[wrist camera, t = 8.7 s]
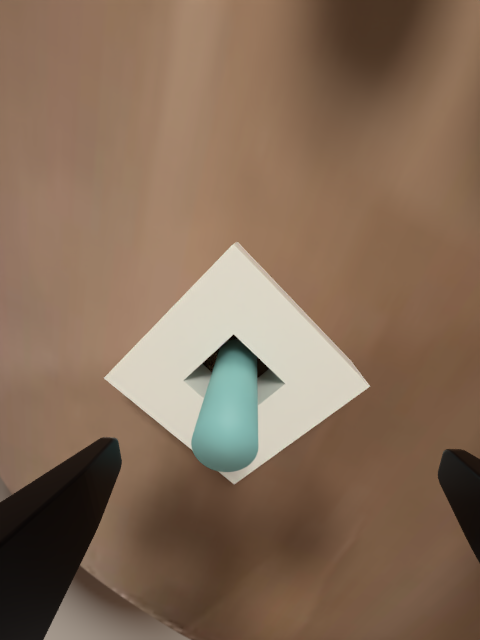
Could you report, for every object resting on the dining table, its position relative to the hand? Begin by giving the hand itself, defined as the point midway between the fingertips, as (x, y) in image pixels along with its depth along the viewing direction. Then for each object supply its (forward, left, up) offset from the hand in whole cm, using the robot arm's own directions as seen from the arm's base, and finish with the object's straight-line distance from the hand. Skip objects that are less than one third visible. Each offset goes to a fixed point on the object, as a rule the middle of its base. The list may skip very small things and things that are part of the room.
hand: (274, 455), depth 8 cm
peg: (-1, +4, -13) cm, 13 cm away
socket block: (-1, +4, -13) cm, 13 cm away
